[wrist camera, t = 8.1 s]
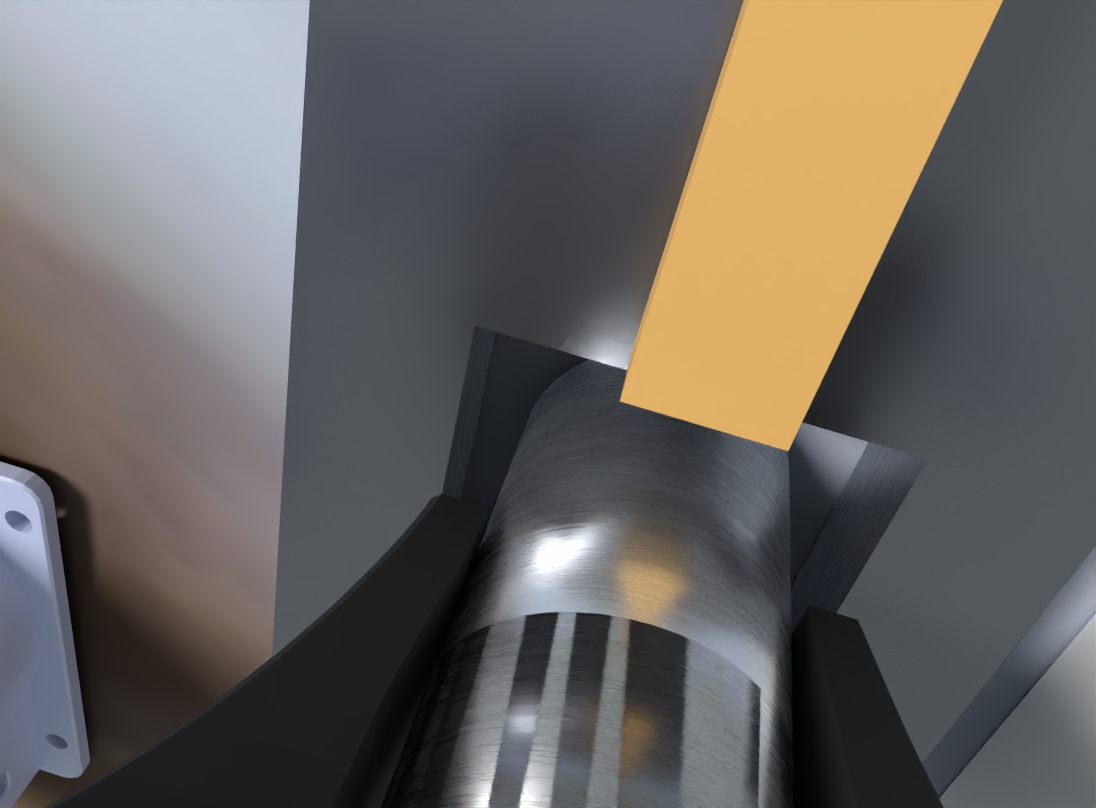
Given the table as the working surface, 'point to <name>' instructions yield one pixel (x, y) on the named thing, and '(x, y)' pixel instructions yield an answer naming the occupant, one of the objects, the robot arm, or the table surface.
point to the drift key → (794, 202)
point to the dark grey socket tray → (626, 281)
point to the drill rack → (1041, 742)
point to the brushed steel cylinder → (617, 622)
